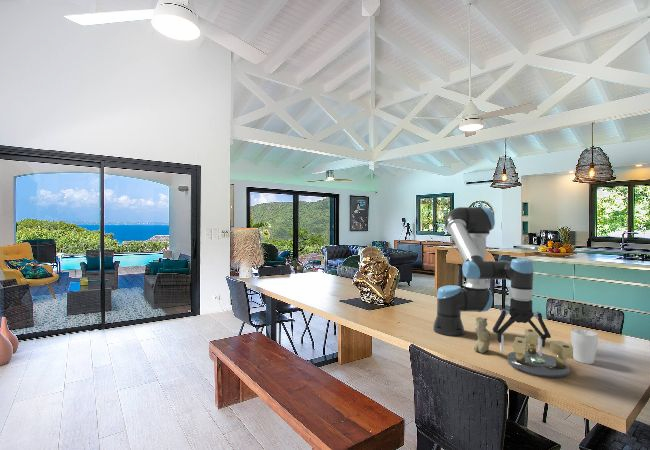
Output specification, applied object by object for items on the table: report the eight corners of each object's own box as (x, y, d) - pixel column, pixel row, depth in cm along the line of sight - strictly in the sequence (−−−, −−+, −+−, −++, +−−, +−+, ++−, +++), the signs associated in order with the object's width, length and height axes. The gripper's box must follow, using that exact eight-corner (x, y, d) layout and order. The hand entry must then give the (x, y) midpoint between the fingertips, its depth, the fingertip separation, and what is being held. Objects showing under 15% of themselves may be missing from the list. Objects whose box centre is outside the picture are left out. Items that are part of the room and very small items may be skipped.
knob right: (549, 362, 134) (550, 340, 134) (560, 362, 134) (560, 340, 134) (562, 370, 127) (562, 346, 127) (572, 370, 127) (573, 346, 127)
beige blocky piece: (539, 356, 141) (540, 334, 140) (528, 355, 142) (529, 333, 142) (534, 350, 147) (535, 329, 147) (524, 349, 148) (524, 328, 148)
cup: (564, 356, 146) (565, 328, 146) (584, 356, 147) (585, 328, 147) (582, 365, 137) (583, 336, 137) (603, 365, 138) (603, 335, 138)
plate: (513, 373, 130) (513, 365, 130) (502, 352, 150) (503, 346, 150) (578, 381, 124) (578, 373, 124) (558, 359, 144) (558, 352, 144)
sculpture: (471, 350, 153) (471, 317, 152) (480, 347, 156) (481, 314, 156) (483, 355, 148) (483, 320, 147) (492, 351, 152) (493, 317, 151)
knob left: (515, 357, 139) (516, 335, 139) (527, 360, 137) (527, 337, 137) (513, 363, 133) (513, 340, 133) (525, 366, 131) (525, 343, 131)
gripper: (554, 299, 134) (553, 352, 135) (485, 294, 142) (484, 345, 142) (561, 303, 127) (560, 360, 128) (488, 298, 135) (487, 352, 135)
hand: (520, 352), depth 135 cm, fingers open, 13 cm apart
